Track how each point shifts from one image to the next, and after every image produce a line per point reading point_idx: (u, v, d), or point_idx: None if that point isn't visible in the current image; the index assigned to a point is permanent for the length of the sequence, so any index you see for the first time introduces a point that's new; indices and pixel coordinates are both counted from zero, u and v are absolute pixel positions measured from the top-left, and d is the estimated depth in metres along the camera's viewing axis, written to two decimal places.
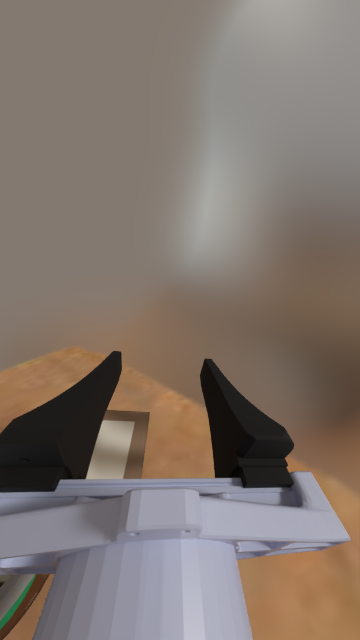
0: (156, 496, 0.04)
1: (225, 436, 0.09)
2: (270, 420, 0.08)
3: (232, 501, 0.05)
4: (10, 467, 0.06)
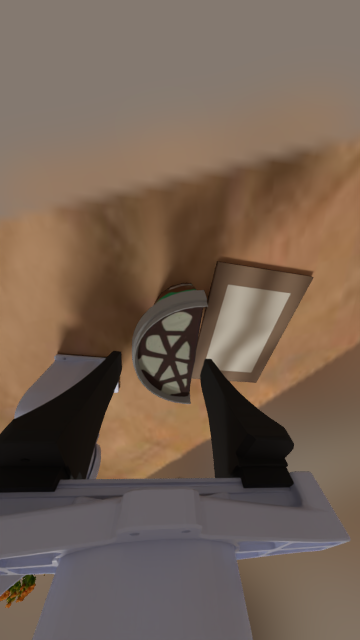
0: (156, 496, 0.04)
1: (225, 436, 0.09)
2: (270, 420, 0.08)
3: (232, 501, 0.05)
4: (10, 467, 0.06)
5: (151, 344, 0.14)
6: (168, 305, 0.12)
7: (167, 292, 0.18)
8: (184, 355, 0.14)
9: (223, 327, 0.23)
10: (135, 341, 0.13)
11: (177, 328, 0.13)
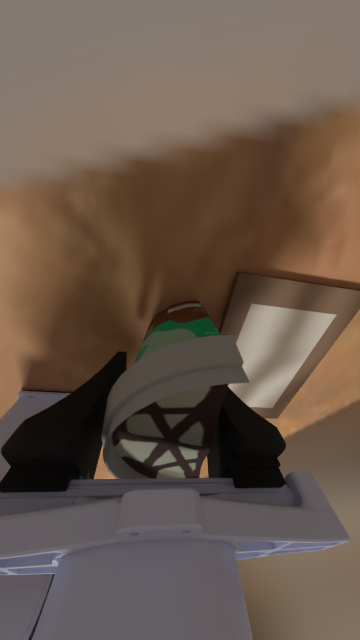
0: (156, 496, 0.04)
1: (218, 436, 0.09)
2: (263, 420, 0.08)
3: (232, 501, 0.05)
4: (21, 467, 0.06)
5: (136, 425, 0.08)
6: (165, 371, 0.06)
7: (165, 317, 0.12)
8: (193, 440, 0.08)
9: None
10: (105, 426, 0.07)
11: (182, 404, 0.07)
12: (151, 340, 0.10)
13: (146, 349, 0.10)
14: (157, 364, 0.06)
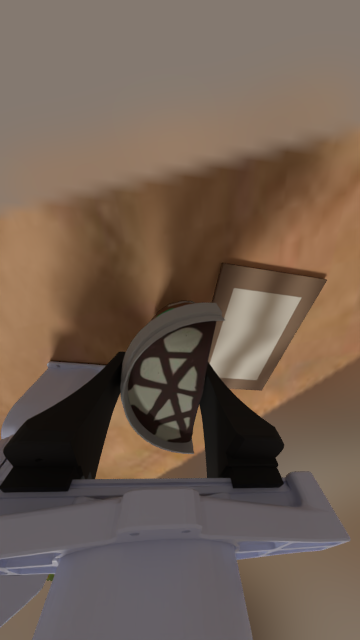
0: (156, 496, 0.04)
1: (217, 436, 0.09)
2: (261, 420, 0.08)
3: (232, 501, 0.05)
4: (24, 467, 0.06)
5: (147, 369, 0.10)
6: (174, 318, 0.09)
7: (166, 308, 0.16)
8: (189, 385, 0.11)
9: (228, 333, 0.21)
10: (127, 365, 0.10)
11: (183, 349, 0.10)
12: None
13: None
14: (168, 317, 0.10)
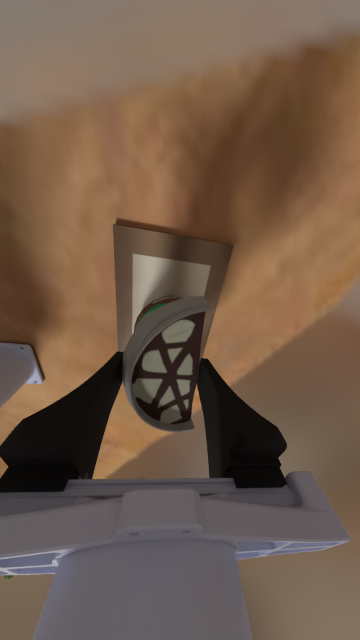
0: (156, 496, 0.04)
1: (219, 436, 0.09)
2: (264, 420, 0.08)
3: (232, 501, 0.05)
4: (19, 467, 0.06)
5: (148, 362, 0.11)
6: (169, 313, 0.10)
7: (153, 305, 0.17)
8: (187, 370, 0.12)
9: (142, 307, 0.20)
10: (130, 361, 0.10)
11: (179, 339, 0.11)
12: (147, 316, 0.14)
13: None
14: (163, 312, 0.11)
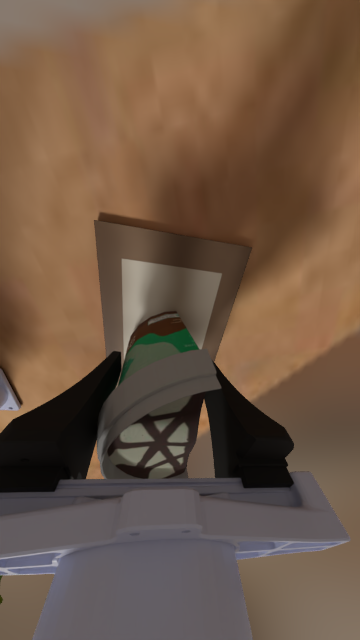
0: (156, 496, 0.04)
1: (225, 436, 0.09)
2: (270, 420, 0.08)
3: (232, 501, 0.05)
4: (10, 467, 0.06)
5: (128, 435, 0.09)
6: (154, 386, 0.07)
7: (146, 330, 0.13)
8: (180, 438, 0.09)
9: (135, 324, 0.16)
10: (101, 440, 0.08)
11: (169, 410, 0.08)
12: (135, 354, 0.11)
13: (132, 363, 0.10)
14: (146, 380, 0.07)
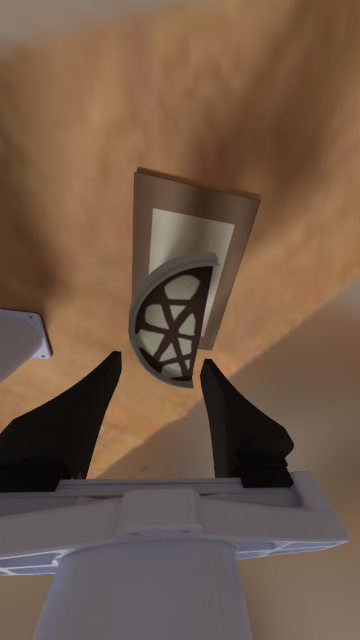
0: (156, 496, 0.04)
1: (225, 436, 0.09)
2: (270, 420, 0.08)
3: (232, 501, 0.05)
4: (10, 467, 0.06)
5: (151, 315, 0.12)
6: (172, 265, 0.10)
7: None
8: (188, 330, 0.12)
9: None
10: (132, 311, 0.11)
11: (182, 296, 0.11)
12: None
13: None
14: (167, 265, 0.10)
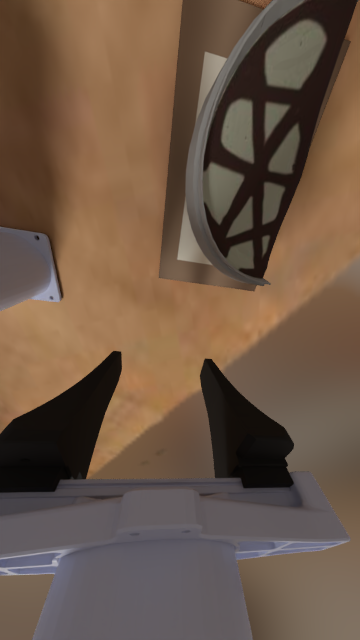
0: (156, 496, 0.04)
1: (225, 436, 0.09)
2: (270, 420, 0.08)
3: (232, 501, 0.05)
4: (10, 467, 0.06)
5: (232, 130, 0.07)
6: None
7: None
8: (285, 162, 0.08)
9: None
10: (208, 108, 0.07)
11: (289, 79, 0.07)
12: None
13: None
14: None
